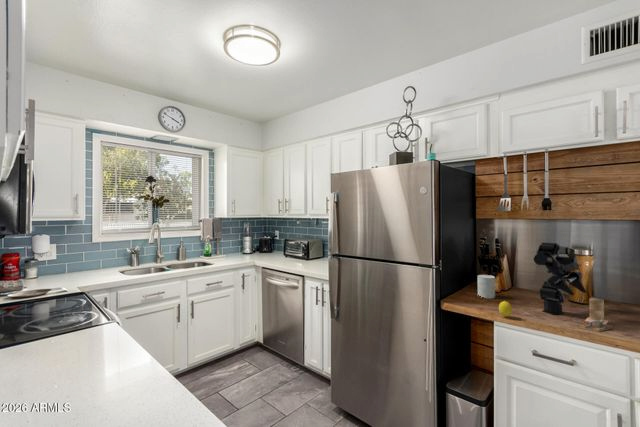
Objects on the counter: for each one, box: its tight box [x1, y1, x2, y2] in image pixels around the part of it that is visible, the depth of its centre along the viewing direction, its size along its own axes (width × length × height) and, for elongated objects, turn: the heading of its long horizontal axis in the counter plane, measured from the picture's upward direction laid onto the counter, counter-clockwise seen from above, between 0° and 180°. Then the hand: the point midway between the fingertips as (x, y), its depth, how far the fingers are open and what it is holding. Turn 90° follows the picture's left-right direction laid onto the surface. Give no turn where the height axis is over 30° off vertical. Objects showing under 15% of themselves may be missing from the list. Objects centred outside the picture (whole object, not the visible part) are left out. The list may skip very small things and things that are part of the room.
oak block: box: [588, 297, 605, 322], centre depth 140 cm, size 4×4×10 cm
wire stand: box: [584, 317, 612, 332], centre depth 132 cm, size 5×10×4 cm, turn 112°
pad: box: [584, 316, 609, 325], centre depth 140 cm, size 7×7×1 cm
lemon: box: [498, 300, 513, 318], centre depth 147 cm, size 6×6×8 cm
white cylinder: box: [477, 274, 496, 299], centre depth 184 cm, size 10×10×12 cm
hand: (579, 293), depth 138 cm, fingers open, 9 cm apart
